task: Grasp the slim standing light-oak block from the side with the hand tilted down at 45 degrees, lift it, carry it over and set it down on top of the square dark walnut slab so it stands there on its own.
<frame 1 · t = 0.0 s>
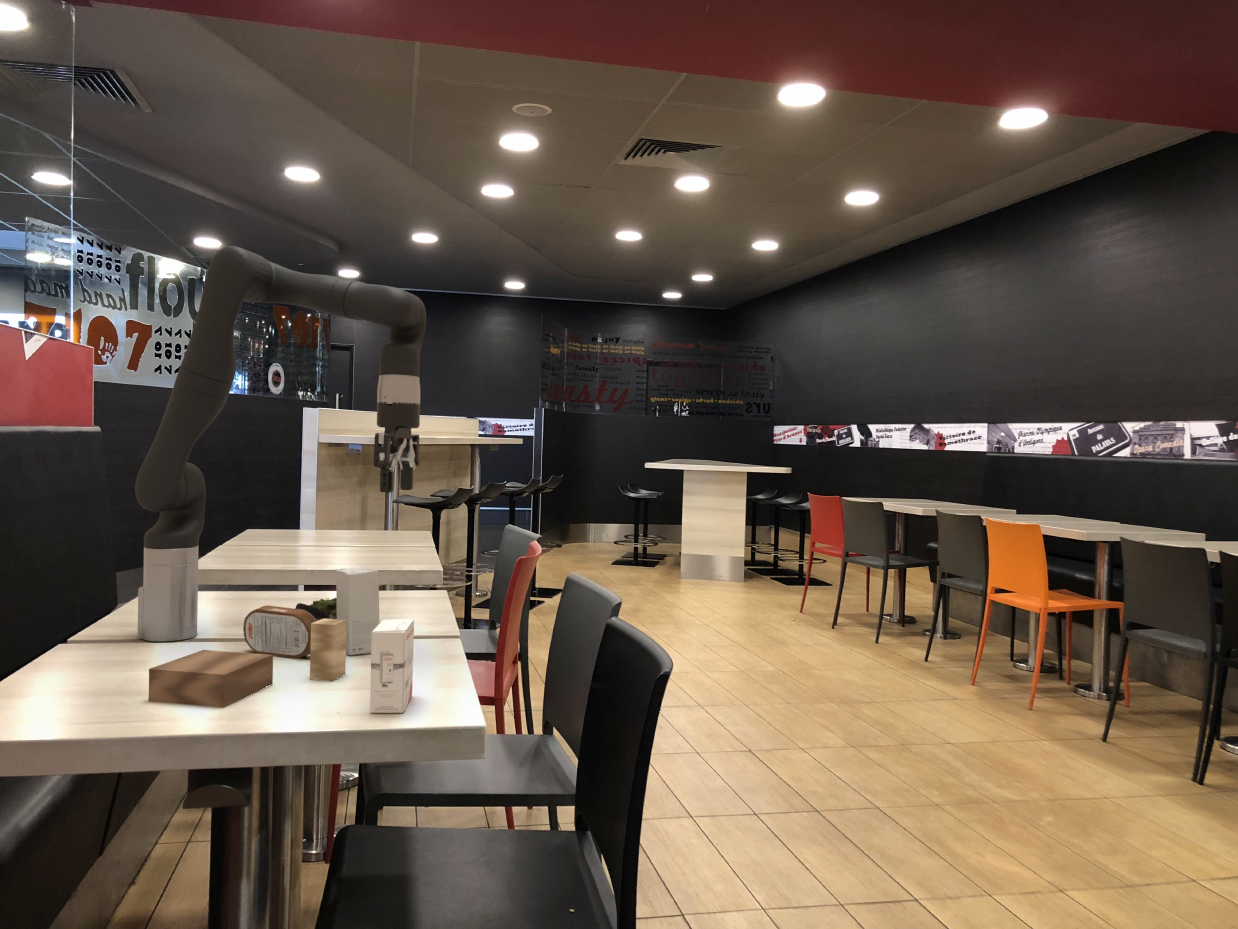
hand: (396, 491, 154), 29 cm above the table, tool pointing down, fingers open, 8 cm apart
walnut slab: (212, 694, 127), on the table
salad plate: (326, 621, 182), on the table
skincare box: (356, 651, 156), on the table
ink box: (392, 706, 124), on the table
oak post: (327, 677, 137), on the table
tin: (280, 656, 151), on the table
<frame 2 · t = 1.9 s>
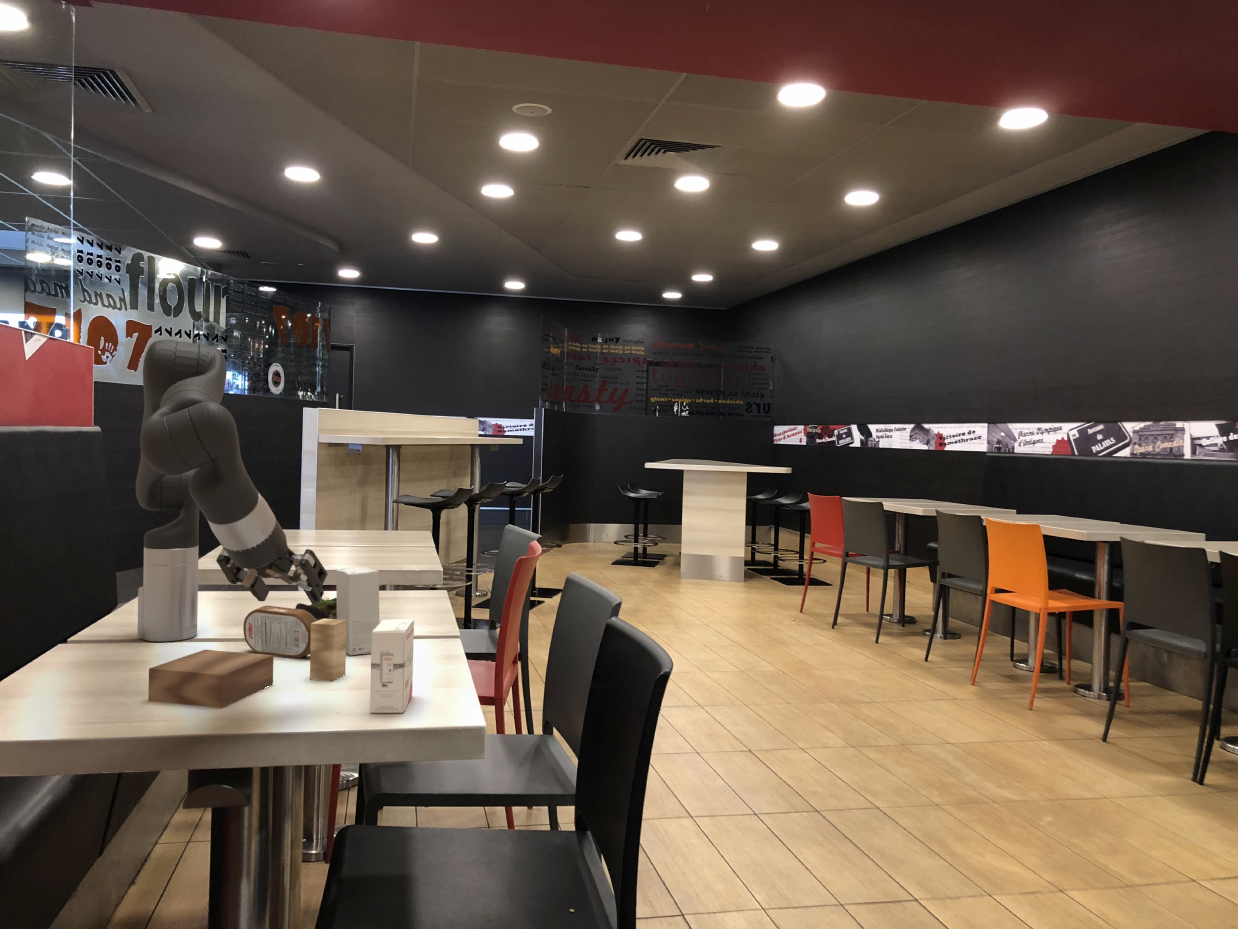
hand: (291, 598, 126), 15 cm above the table, tool tilted 45°, fingers open, 8 cm apart
nothing on the table moved.
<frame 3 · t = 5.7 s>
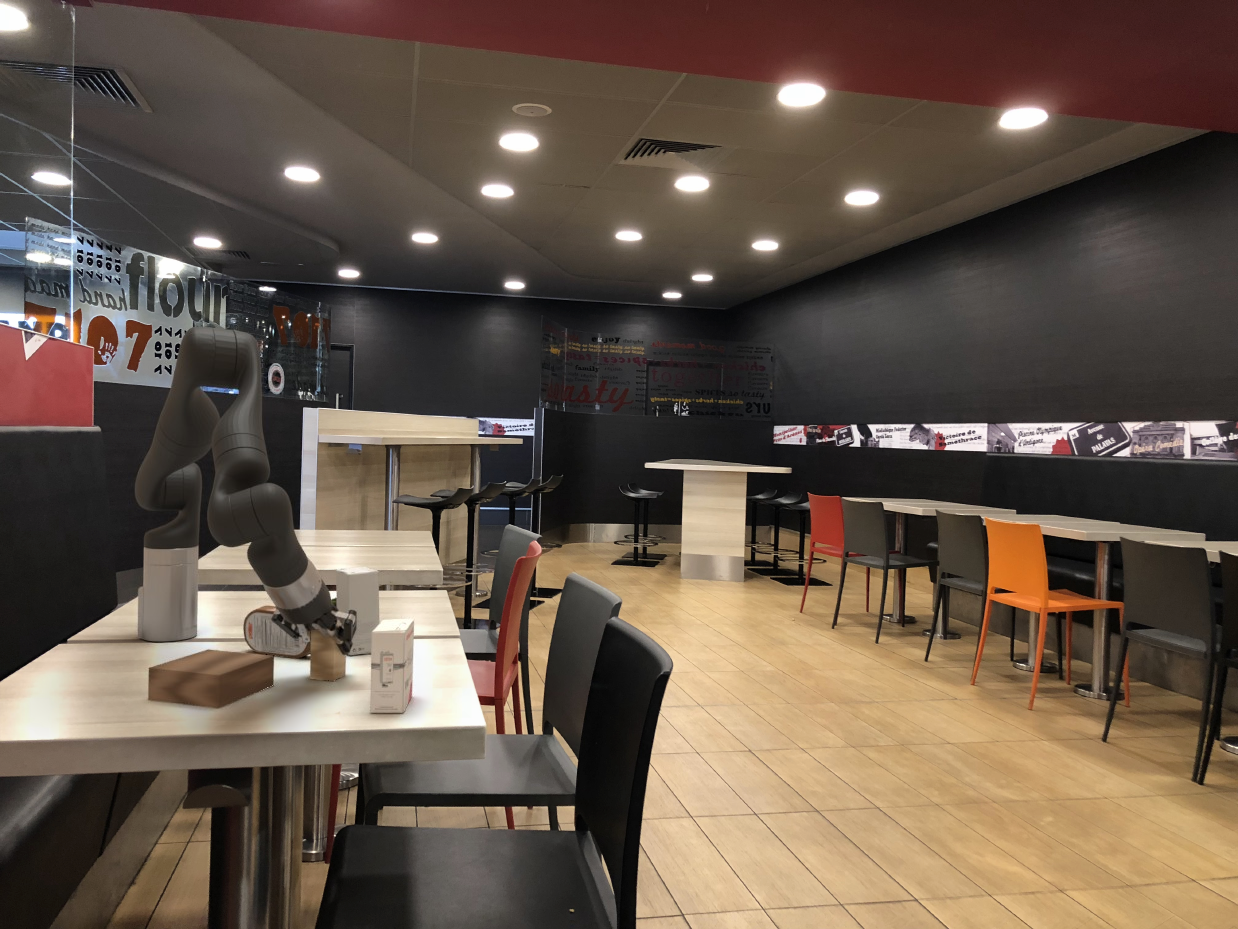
hand: (334, 649, 139), 4 cm above the table, tool tilted 45°, fingers closed on oak post, 4 cm apart
oak post: (327, 677, 137), on the table, touching gripper
everything else where it was.
when the fingers open (10 cm above the table, at t = 10.5 s): oak post drops 1 cm, point 5 cm above the table.
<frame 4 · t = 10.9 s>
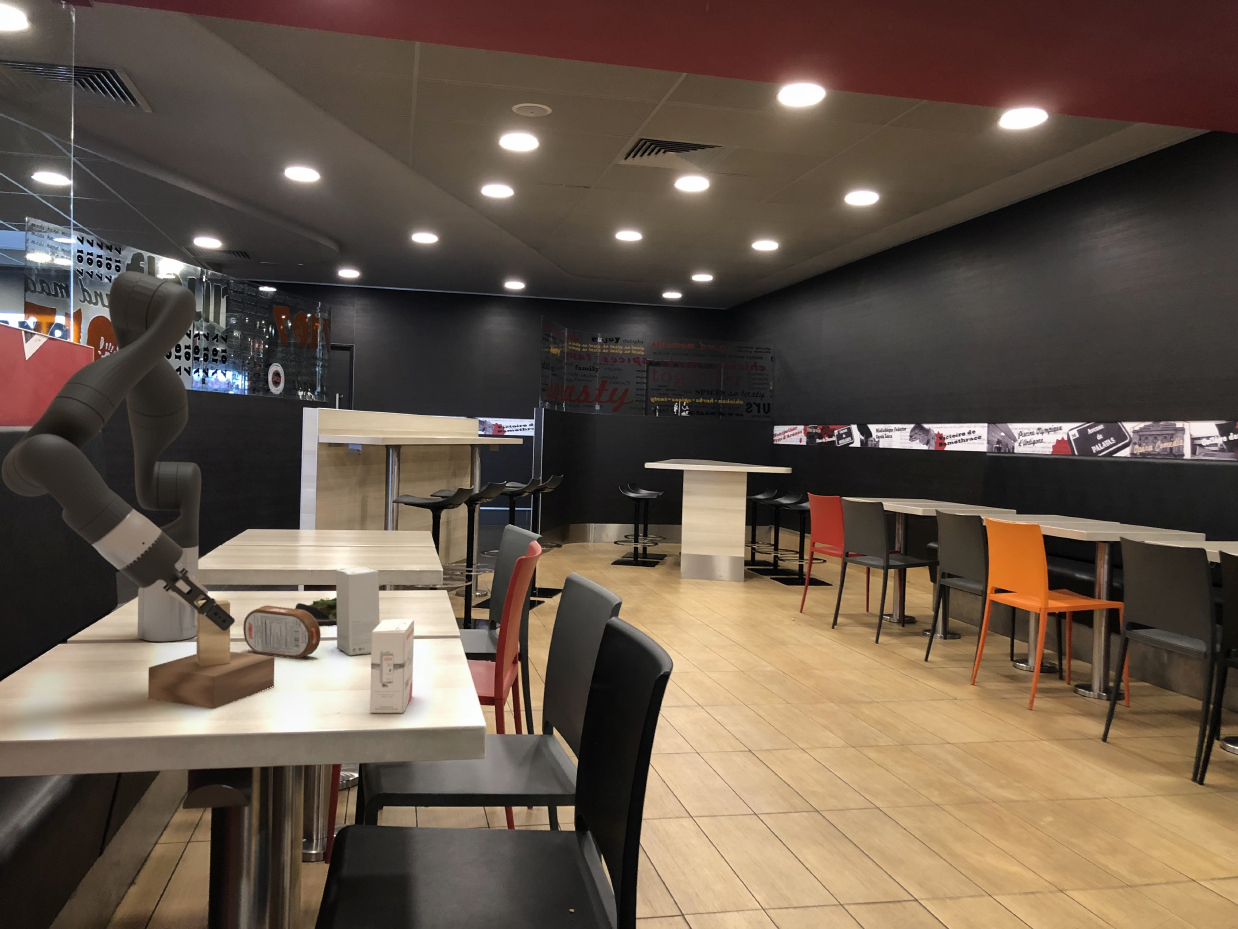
hand: (224, 620, 128), 11 cm above the table, tool tilted 45°, fingers open, 8 cm apart
oak post: (213, 662, 127), point 5 cm above the table
everything else where it was.
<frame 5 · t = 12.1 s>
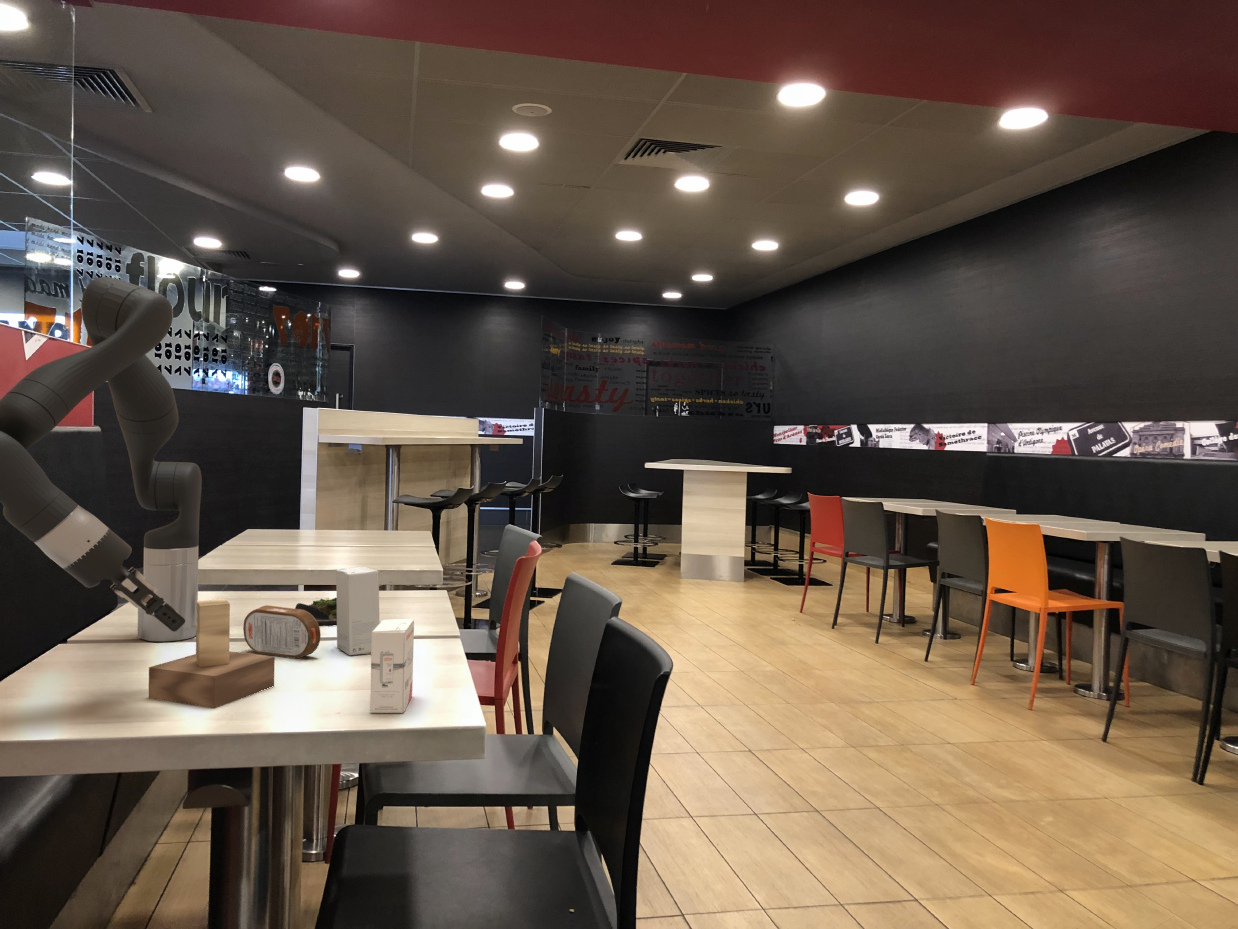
hand: (175, 621, 124), 11 cm above the table, tool tilted 45°, fingers open, 8 cm apart
nothing on the table moved.
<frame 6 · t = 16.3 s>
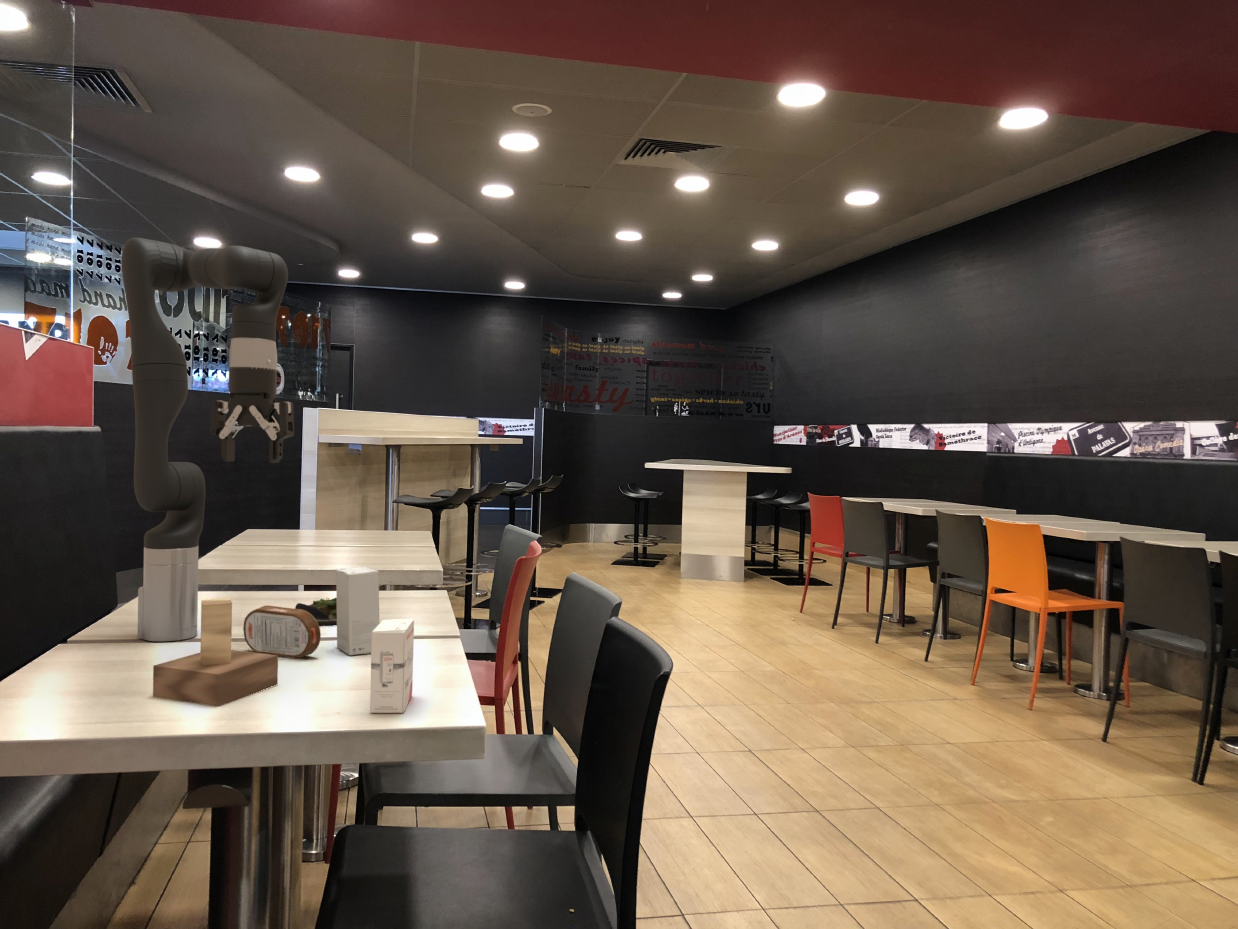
hand: (251, 462, 145), 34 cm above the table, tool pointing down, fingers open, 8 cm apart
at the end: oak post inside the target area on the walnut slab (0.5 cm from its centre), point 5.1 cm above the walnut slab's base; oak post tilted 2°; the gripper is holding nothing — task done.
